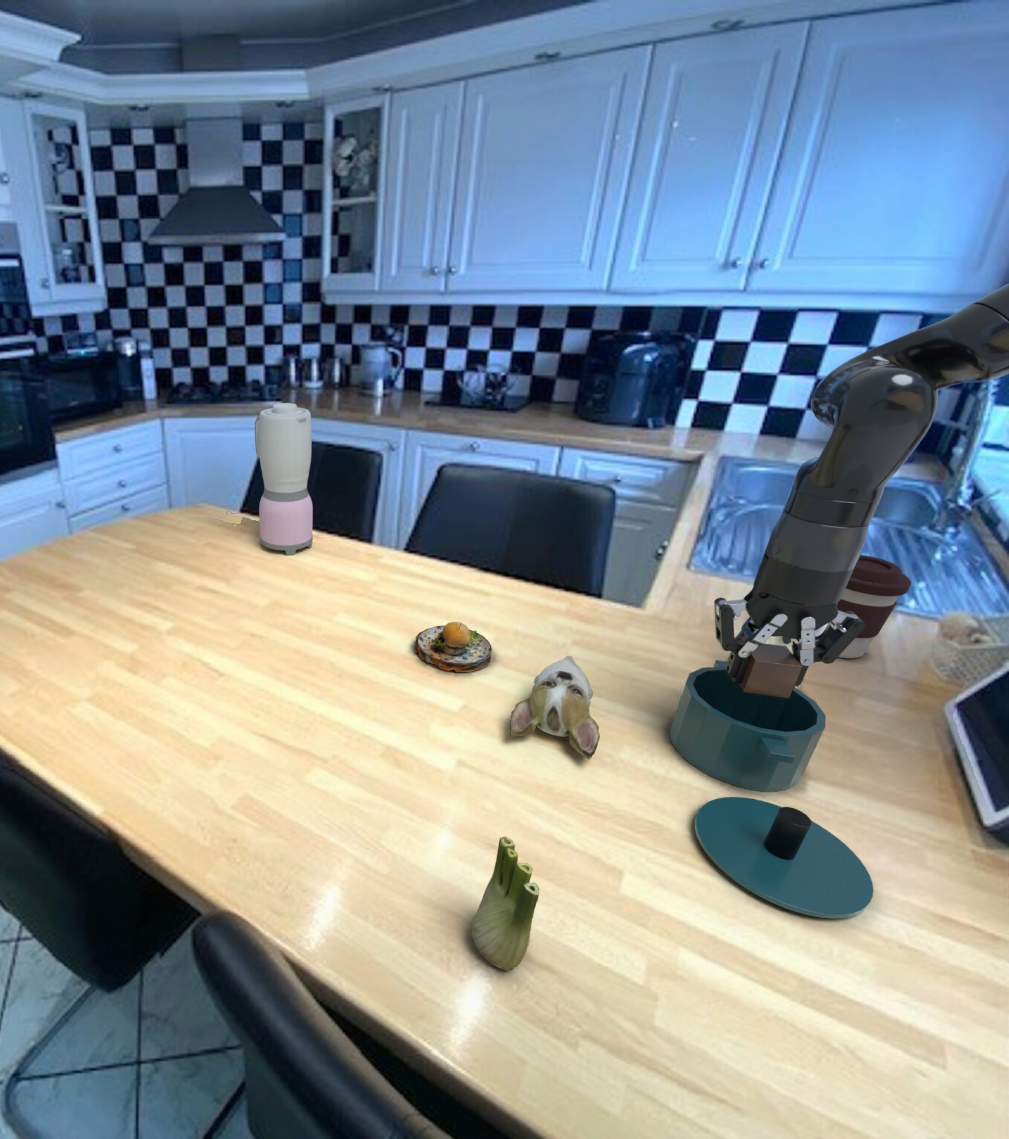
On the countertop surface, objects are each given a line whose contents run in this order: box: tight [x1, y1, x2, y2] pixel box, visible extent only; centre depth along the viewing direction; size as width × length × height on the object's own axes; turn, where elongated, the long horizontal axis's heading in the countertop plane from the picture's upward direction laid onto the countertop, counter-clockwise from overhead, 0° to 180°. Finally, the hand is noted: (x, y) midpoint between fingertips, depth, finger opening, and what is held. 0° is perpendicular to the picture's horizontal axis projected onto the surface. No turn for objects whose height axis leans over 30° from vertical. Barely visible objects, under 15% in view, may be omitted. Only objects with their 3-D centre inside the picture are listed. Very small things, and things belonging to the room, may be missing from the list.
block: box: [739, 643, 802, 698], centre depth 74 cm, size 4×4×4 cm
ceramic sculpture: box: [508, 655, 601, 760], centre depth 84 cm, size 11×9×15 cm
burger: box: [414, 621, 493, 673], centre depth 101 cm, size 12×12×8 cm
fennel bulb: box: [470, 836, 540, 972], centre depth 55 cm, size 6×5×12 cm
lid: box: [694, 796, 874, 919], centre depth 64 cm, size 15×15×6 cm
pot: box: [669, 659, 827, 793], centre depth 78 cm, size 14×19×8 cm
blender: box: [254, 402, 314, 556], centre depth 139 cm, size 16×12×32 cm
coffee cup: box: [829, 554, 912, 659], centre depth 97 cm, size 10×10×15 cm
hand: (759, 681), depth 75 cm, fingers closed on block, 4 cm apart
